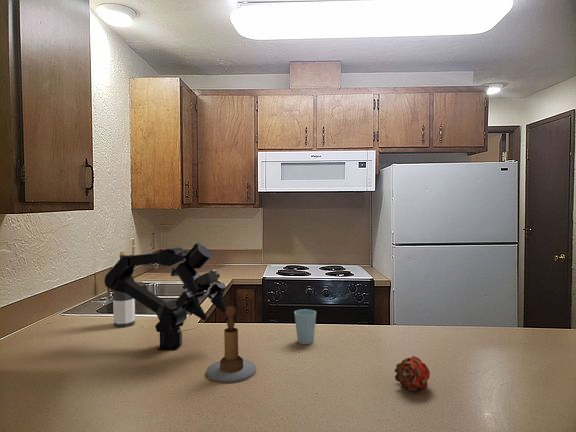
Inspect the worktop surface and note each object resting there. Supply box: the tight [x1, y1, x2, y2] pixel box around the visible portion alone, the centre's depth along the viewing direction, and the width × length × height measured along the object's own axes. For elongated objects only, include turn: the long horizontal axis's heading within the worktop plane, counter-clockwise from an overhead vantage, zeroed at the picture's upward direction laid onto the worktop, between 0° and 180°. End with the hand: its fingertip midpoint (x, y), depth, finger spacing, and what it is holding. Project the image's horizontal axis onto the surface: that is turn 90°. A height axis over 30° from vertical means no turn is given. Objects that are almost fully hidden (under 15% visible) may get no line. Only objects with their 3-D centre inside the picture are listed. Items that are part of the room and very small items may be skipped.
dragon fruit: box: [394, 355, 431, 392], centre depth 103 cm, size 8×8×12 cm
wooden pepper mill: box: [219, 305, 244, 373], centre depth 114 cm, size 7×6×18 cm
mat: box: [206, 359, 257, 384], centre depth 114 cm, size 14×14×1 cm
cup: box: [293, 308, 317, 345], centre depth 139 cm, size 8×8×10 cm
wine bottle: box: [112, 250, 136, 329], centre depth 161 cm, size 8×8×30 cm
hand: (216, 315), depth 126 cm, fingers open, 9 cm apart
